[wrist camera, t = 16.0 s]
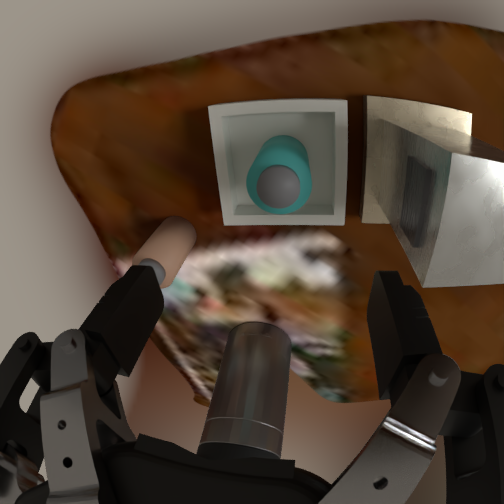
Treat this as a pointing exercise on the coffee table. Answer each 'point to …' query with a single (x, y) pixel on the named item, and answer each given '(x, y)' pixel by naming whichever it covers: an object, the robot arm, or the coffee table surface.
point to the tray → (270, 125)
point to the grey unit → (434, 190)
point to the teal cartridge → (280, 176)
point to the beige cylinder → (167, 249)
